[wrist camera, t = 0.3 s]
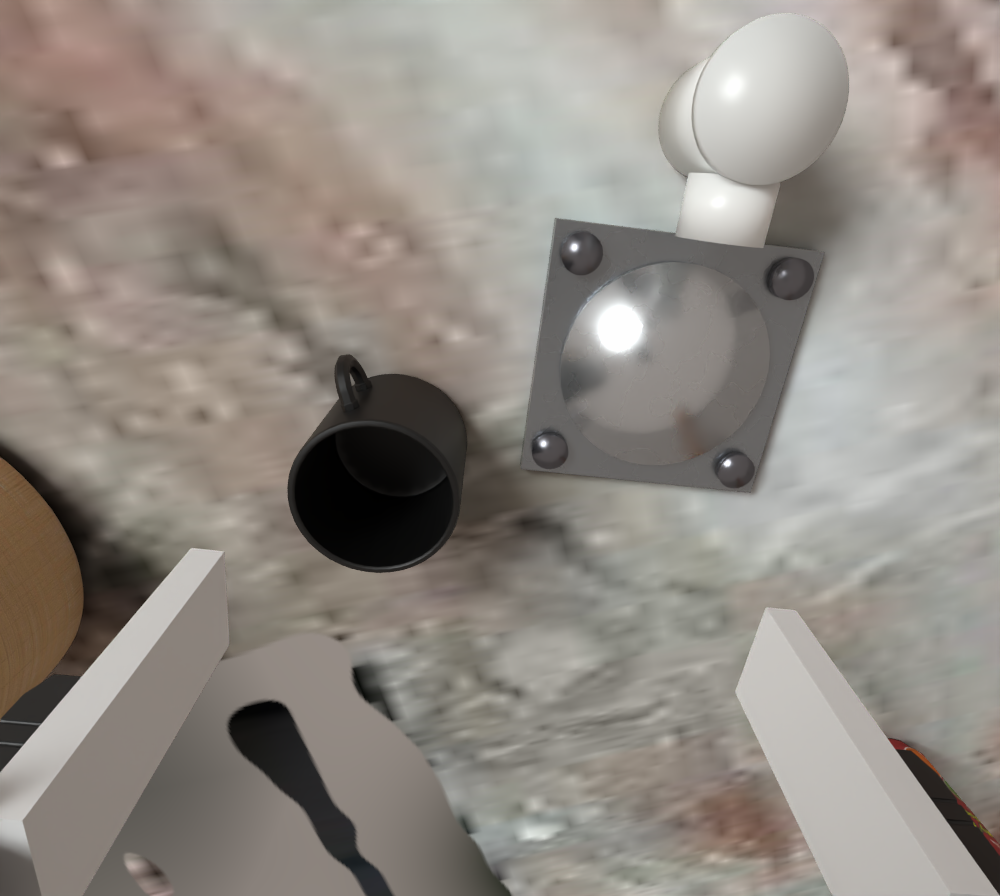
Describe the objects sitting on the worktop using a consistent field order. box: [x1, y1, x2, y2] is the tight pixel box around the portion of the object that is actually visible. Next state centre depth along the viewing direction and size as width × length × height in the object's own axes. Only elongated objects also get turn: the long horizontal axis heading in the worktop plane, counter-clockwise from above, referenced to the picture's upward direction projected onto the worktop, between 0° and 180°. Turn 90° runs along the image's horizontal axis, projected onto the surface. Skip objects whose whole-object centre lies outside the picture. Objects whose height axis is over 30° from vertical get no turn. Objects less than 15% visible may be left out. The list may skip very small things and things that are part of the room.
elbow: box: [658, 13, 849, 248], centre depth 31 cm, size 9×7×8 cm
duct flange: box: [520, 218, 825, 493], centre depth 39 cm, size 16×16×2 cm
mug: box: [288, 354, 467, 573], centre depth 37 cm, size 9×12×9 cm
